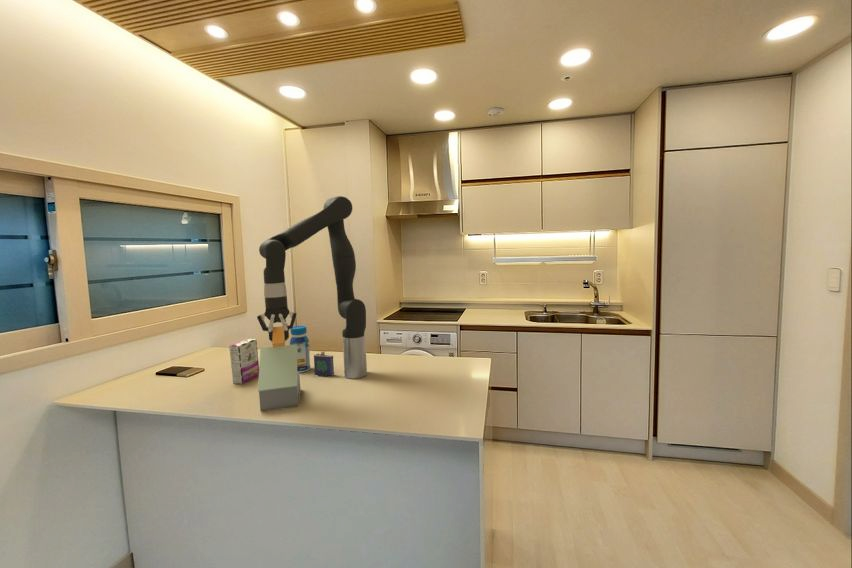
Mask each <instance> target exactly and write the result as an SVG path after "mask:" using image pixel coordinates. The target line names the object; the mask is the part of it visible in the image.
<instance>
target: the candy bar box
mask: <svg viewBox="0 0 852 568" xmlns="http://www.w3.org/2000/svg"><path fill="white" fill-rule="evenodd" d="M258 352H259V351H258V342H257V338H247V339H243V340H241V341H238V342H236V343H233V344H230V345H229V355H230V357H229V358H230V365H231V375H232V384H234V385H244V384H246V383H247V382H249V381H251V380H252V379H254V378H257V377H259V365H260V361H259V354H258ZM245 382H246V383H245Z"/></svg>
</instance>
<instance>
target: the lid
mask: <svg viewBox="0 0 852 568" xmlns="http://www.w3.org/2000/svg"><path fill="white" fill-rule="evenodd" d="M272 330H273V337H272V342H271V343H272V344H271V345H272V346H269V347H268V346H267V347H260V350H259V375H258V380H257V381H258V383H257V384H258V385H257V391H258V393H259V391H266V390H274V389H282V388H290V387H297V345H289V344H288V345H286V341H285V335H284V327H283V325H282V326H273V329H272Z"/></svg>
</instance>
